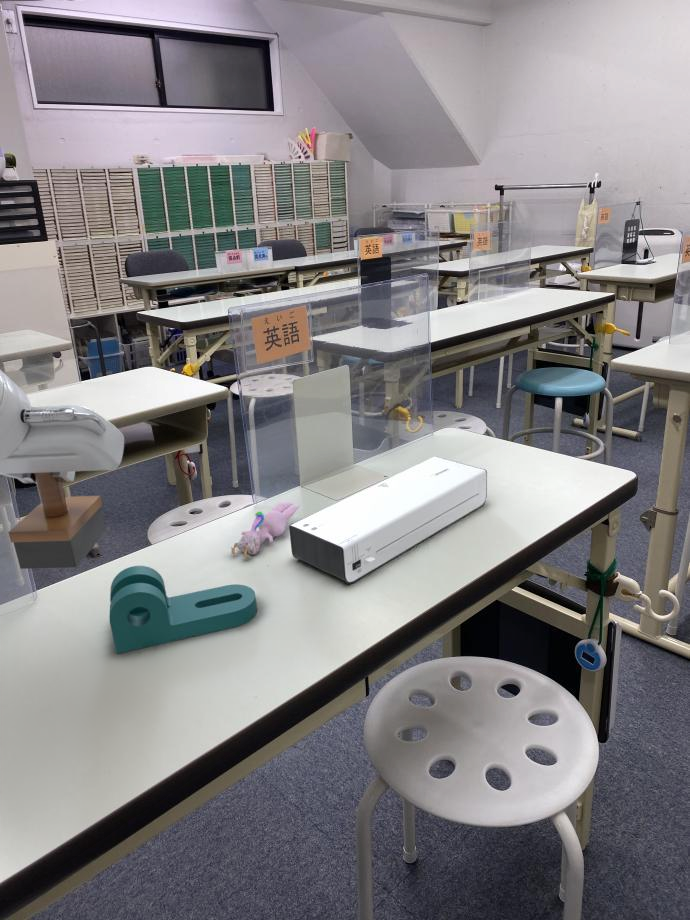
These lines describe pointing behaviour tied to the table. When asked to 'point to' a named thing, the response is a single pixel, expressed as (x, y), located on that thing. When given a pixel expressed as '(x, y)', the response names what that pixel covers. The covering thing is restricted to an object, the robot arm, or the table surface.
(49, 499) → the hand brush
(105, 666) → the table surface
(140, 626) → the bracket
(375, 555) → the laminator
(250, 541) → the rabbit figure
